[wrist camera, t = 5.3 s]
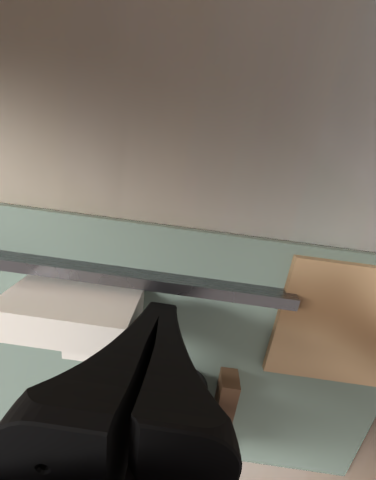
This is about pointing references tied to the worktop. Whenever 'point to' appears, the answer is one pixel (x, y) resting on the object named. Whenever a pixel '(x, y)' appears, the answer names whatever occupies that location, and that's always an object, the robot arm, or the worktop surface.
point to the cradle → (228, 390)
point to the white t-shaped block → (66, 315)
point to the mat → (204, 328)
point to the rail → (148, 280)
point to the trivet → (327, 323)
